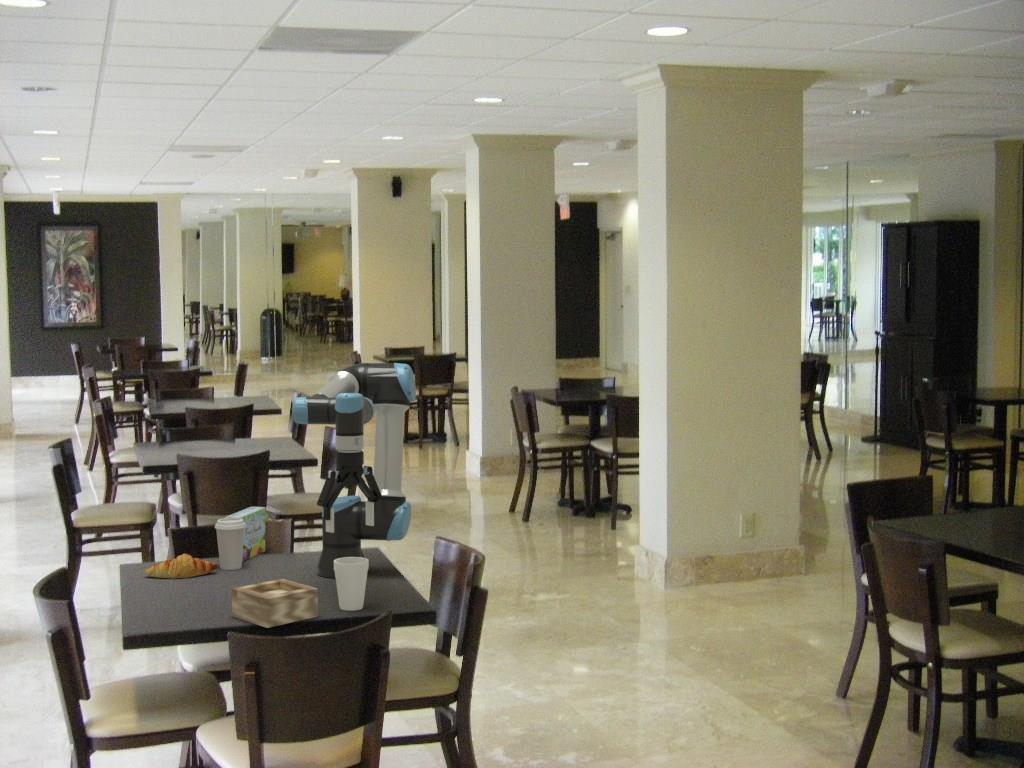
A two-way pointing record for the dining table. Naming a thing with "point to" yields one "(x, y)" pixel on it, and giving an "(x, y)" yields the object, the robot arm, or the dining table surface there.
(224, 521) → the coffee cup
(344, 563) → the foam cup
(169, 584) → the dining table surface
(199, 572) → the croissant
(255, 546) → the snack box
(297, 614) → the wooden box
